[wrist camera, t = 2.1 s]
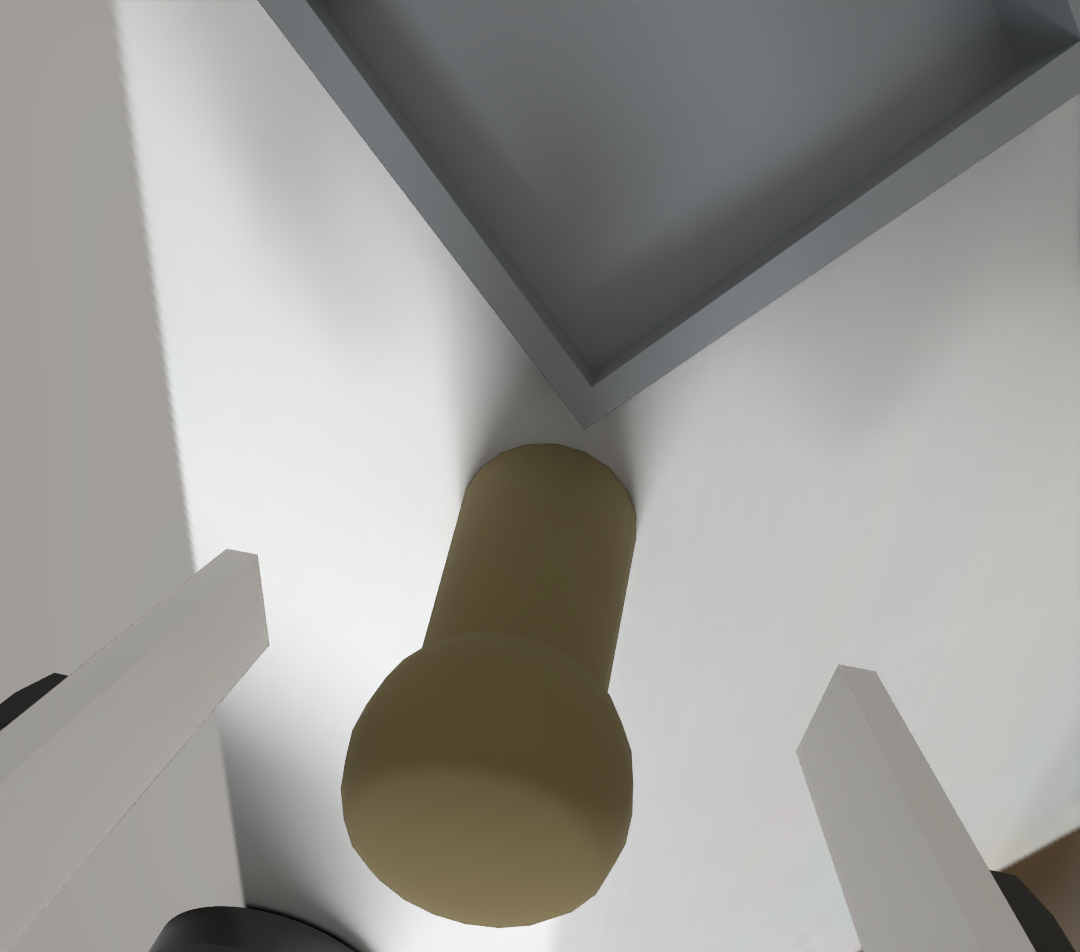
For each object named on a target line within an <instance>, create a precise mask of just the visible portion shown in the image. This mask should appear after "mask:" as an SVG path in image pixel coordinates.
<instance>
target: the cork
mask: <svg viewBox="0 0 1080 952" xmlns="http://www.w3.org/2000/svg"><path fill="white" fill-rule="evenodd" d="M635 541H636V513H635V511H634V508H633V505H632V502H631V499H630V496H629V493H628V491H627V489H626V488H625V487H624V486H623V484H622V483H621V482H620V481H619V479H618V478H617V477H616V476H615V474H614V473H613V472H612V471H611V469H610V468H608V467H607V466H605V465H604V464H602V463H601V462H599V461H598V460H596V459H595V458H593V457H591V456H590V455H588V454H587V453H585V452H582V451H578V450H575V449H571V448H568V447H565V446H561V445H558V444H528V445H525V446H521V447H518V448H515V449H512V450H509V451H506V452H503V453H500V454H499V455H498V456H496V457H495V458H494V459H492V460H491V461H490V462H488V463H487V464H486V465H484V466H483V467H481V468H480V469H479V471H478V472H477V474H476V475H475V477H474V478H473V480H472V481H471V483H470V484H469V486H468V487H467V489H466V491H465V494H464V498H463V502H462V505H461V509H460V512H459V516H458V520H457V523H456V527H455V531H454V534H453V538H452V542H451V545H450V549H449V552H448V556H447V560H446V563H445V567H444V571H443V574H442V578H441V582H440V585H439V589H438V592H437V596H436V600H435V603H434V607H433V611H432V614H431V618H430V622H429V625H428V629H427V632H426V636H425V640H424V643H423V647H422V649H420V650H418V651H417V652H415V653H413V654H412V655H410V656H409V657H407V658H405V659H404V660H403V661H402V662H401V663H400V664H399V665H398V666H397V667H396V668H395V669H394V670H393V671H392V672H391V673H390V674H389V675H388V676H387V677H386V678H385V680H384V681H383V682H382V684H381V685H380V687H379V688H378V689H377V691H376V692H375V694H374V695H373V696H372V698H371V699H370V700H369V702H368V703H367V705H366V707H365V708H364V710H363V712H362V714H361V716H360V717H359V719H358V721H357V723H356V725H355V727H354V728H353V730H352V734H351V739H350V743H349V747H348V751H347V756H346V760H345V766H344V772H343V779H342V785H341V795H342V805H343V815H344V821H345V824H346V828H347V831H348V834H349V837H350V841H351V844H352V846H353V848H354V849H355V850H356V852H357V853H358V854H359V856H360V857H361V858H362V860H363V861H364V862H365V864H366V865H367V866H368V868H369V869H370V870H371V871H372V872H373V873H374V875H375V876H376V877H377V878H378V879H379V880H380V881H381V882H383V883H384V884H385V885H386V886H388V887H389V888H390V889H391V890H393V891H394V892H395V893H397V894H398V895H399V896H400V897H402V898H403V899H404V900H406V901H408V902H410V903H412V904H414V905H416V906H418V907H420V908H422V909H424V910H426V911H428V912H430V913H432V914H434V915H437V916H441V917H444V918H447V919H451V920H454V921H457V922H461V923H464V924H470V925H479V926H487V927H496V928H503V927H516V926H530V925H533V924H536V923H539V922H542V921H545V920H548V919H552V918H555V917H558V916H561V915H564V914H567V913H570V912H572V911H574V910H575V909H576V908H578V907H579V906H581V905H582V904H583V903H585V902H586V901H587V900H589V899H590V898H592V897H593V896H594V895H596V893H597V892H598V890H599V888H600V887H601V885H602V884H603V882H604V880H605V879H606V877H607V876H608V874H609V872H610V871H611V869H612V867H613V866H614V864H615V862H616V860H617V858H618V857H619V855H620V853H621V851H622V849H623V848H624V846H625V844H626V839H627V835H628V830H629V826H630V821H631V817H632V802H633V773H632V755H631V749H630V746H629V743H628V740H627V737H626V734H625V731H624V728H623V725H622V722H621V720H620V718H619V715H618V713H617V711H616V708H615V706H614V704H613V701H612V699H611V697H610V695H609V694H608V693H607V692H608V687H609V681H610V676H611V671H612V665H613V660H614V654H615V649H616V644H617V638H618V633H619V627H620V622H621V617H622V611H623V606H624V600H625V595H626V589H627V584H628V579H629V573H630V568H631V562H632V557H633V552H634V546H635Z"/></svg>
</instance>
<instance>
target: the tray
mask: <svg viewBox="0 0 1080 952" xmlns="http://www.w3.org/2000/svg"><path fill="white" fill-rule="evenodd" d="M258 1H259V3H260V4H261V5H262V7H263V8H264V9H265V11H266V12H267V13H268V15H269V16H270V17H271V19H272V20H273V21H274V22H275V24H276V25H277V26H278V28H279V29H280V30H281V32H282V33H283V34H284V36H285V37H286V38H287V40H288V41H289V42H290V43H291V45H292V46H293V47H294V49H295V50H296V51H297V53H298V54H299V55H300V57H301V58H302V59H303V60H304V62H305V63H306V64H307V66H308V67H309V68H310V70H311V71H312V72H313V74H314V75H315V76H316V78H317V79H318V80H319V81H320V83H321V84H322V85H323V87H324V88H325V89H326V91H327V92H328V93H329V95H330V96H331V97H332V99H333V100H334V101H335V102H336V104H337V105H338V106H339V108H340V109H341V110H342V112H343V113H344V114H345V116H346V117H347V118H348V120H349V121H350V122H351V123H352V125H353V126H354V127H355V129H356V130H357V131H358V133H359V134H360V135H361V137H362V138H363V139H364V141H365V142H366V143H367V144H368V146H369V147H370V148H371V150H372V151H373V152H374V154H375V155H376V156H377V158H378V159H379V160H380V162H381V163H382V164H383V165H384V167H385V168H386V169H387V171H388V172H389V173H390V175H391V176H392V177H393V179H394V180H395V181H396V183H397V184H398V185H399V186H400V188H401V189H402V190H403V192H404V193H405V194H406V196H407V197H408V198H409V200H410V201H411V202H412V204H413V205H414V206H415V207H416V209H417V210H418V211H419V213H420V214H421V215H422V217H423V218H424V219H425V221H426V222H427V223H428V225H429V226H430V227H431V228H432V230H433V231H434V232H435V234H436V235H437V236H438V238H439V239H440V240H441V242H442V243H443V244H444V245H445V247H446V248H447V249H448V251H449V252H450V253H451V255H452V256H453V257H454V259H455V260H456V261H457V263H458V264H459V265H460V266H461V268H462V269H463V270H464V272H465V273H466V274H467V276H468V277H469V278H470V280H471V281H472V282H473V284H474V285H475V286H476V287H477V289H478V290H479V291H480V293H481V294H482V295H483V297H484V298H485V299H486V301H487V302H488V303H489V305H490V306H491V307H492V308H493V310H494V311H495V312H496V314H497V315H498V316H499V318H500V319H501V320H502V322H503V323H504V324H505V326H506V327H507V328H508V329H509V331H510V332H511V333H512V335H513V336H514V337H515V339H516V340H517V341H518V343H519V344H520V345H521V347H522V348H523V349H524V350H525V352H526V353H527V354H528V356H529V357H530V358H531V360H532V361H533V362H534V364H535V365H536V366H537V368H538V369H539V370H540V371H541V373H542V374H543V375H544V377H545V378H546V379H547V381H548V382H549V383H550V385H551V386H552V387H553V389H554V390H555V391H556V392H557V394H558V395H559V396H560V398H561V399H562V400H563V402H564V403H565V404H566V406H567V407H568V408H569V410H570V411H571V412H572V413H573V415H574V416H575V417H576V419H577V420H578V421H579V423H580V424H581V425H582V427H583V428H584V429H586V428H587V427H589V426H590V425H592V424H593V423H595V422H596V421H598V420H599V419H601V418H602V417H604V416H605V415H607V414H608V413H610V412H611V411H612V410H614V409H615V408H617V407H618V406H620V405H621V404H623V403H624V402H626V401H627V400H629V399H630V398H632V397H633V396H635V395H636V394H637V393H639V392H640V391H642V390H643V389H645V388H646V387H648V386H649V385H651V384H652V383H654V382H655V381H657V380H658V379H659V378H661V377H662V376H664V375H665V374H667V373H668V372H670V371H671V370H673V369H674V368H676V367H677V366H679V365H680V364H682V363H683V362H684V361H686V360H687V359H689V358H690V357H692V356H693V355H695V354H696V353H698V352H699V351H701V350H702V349H704V348H705V347H707V346H708V345H709V344H711V343H712V342H714V341H715V340H717V339H718V338H720V337H721V336H723V335H724V334H726V333H727V332H729V331H730V330H731V329H733V328H734V327H736V326H737V325H739V324H740V323H742V322H743V321H745V320H746V319H748V318H749V317H751V316H752V315H754V314H755V313H756V312H758V311H759V310H761V309H762V308H764V307H765V306H767V305H768V304H770V303H771V302H773V301H774V300H776V299H777V298H779V297H780V296H781V295H783V294H784V293H786V292H787V291H789V290H790V289H792V288H793V287H795V286H796V285H798V284H799V283H801V282H802V281H803V280H805V279H806V278H808V277H809V276H811V275H812V274H814V273H815V272H817V271H818V270H820V269H821V268H823V267H824V266H826V265H827V264H828V263H830V262H831V261H833V260H834V259H836V258H837V257H839V256H840V255H842V254H843V253H845V252H846V251H848V250H849V249H851V248H852V247H853V246H855V245H856V244H858V243H859V242H861V241H862V240H864V239H865V238H867V237H868V236H870V235H871V234H873V233H874V232H875V231H877V230H878V229H880V228H881V227H883V226H884V225H886V224H887V223H889V222H890V221H892V220H893V219H895V218H896V217H898V216H899V215H900V214H902V213H903V212H905V211H906V210H908V209H909V208H911V207H912V206H914V205H915V204H917V203H918V202H920V201H921V200H923V199H924V198H925V197H927V196H928V195H930V194H931V193H933V192H934V191H936V190H937V189H939V188H940V187H942V186H943V185H945V184H946V183H947V182H949V181H950V180H952V179H953V178H955V177H956V176H958V175H959V174H961V173H962V172H964V171H965V170H967V169H968V168H970V167H971V166H972V165H974V164H975V163H977V162H978V161H980V160H981V159H983V158H984V157H986V156H987V155H989V154H990V153H992V152H993V151H995V150H996V149H997V148H999V147H1000V146H1002V145H1003V144H1005V143H1006V142H1008V141H1009V140H1011V139H1012V138H1014V137H1015V136H1017V135H1018V134H1020V133H1021V132H1022V131H1024V130H1025V129H1027V128H1028V127H1030V126H1031V125H1033V124H1034V123H1036V122H1037V121H1039V120H1040V119H1042V118H1043V117H1044V116H1046V115H1047V114H1049V113H1050V112H1052V111H1053V110H1055V109H1056V108H1058V107H1059V106H1061V105H1062V104H1064V103H1065V102H1067V101H1068V100H1069V99H1071V98H1072V97H1074V96H1075V95H1077V94H1078V93H1080V0H258Z"/></svg>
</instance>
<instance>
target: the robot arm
mask: <svg viewBox="0 0 1080 952" xmlns="http://www.w3.org/2000/svg"><path fill="white" fill-rule="evenodd" d="M268 646H269V639H268V631H267V624H266V616H265V608H264V601H263V593H262V585H261V578H260V570H259V562H258V555H256V554H251V553H246V552H240V551H235V550H230V549H226V550H224V551H223V552H222V553H221V554H220V555H218V556H217V557H216V558H215V559H213V560H212V561H211V562H210V563H208V564H207V565H206V566H205V567H203V568H202V569H201V570H200V571H198V572H197V573H196V574H195V575H193V576H192V577H191V578H190V579H189V580H187V581H186V582H185V583H184V584H182V585H181V586H180V587H179V588H177V589H176V590H175V591H174V592H172V593H171V594H170V595H169V596H167V597H166V598H165V599H164V600H163V601H161V602H160V603H159V604H158V605H156V606H155V607H154V608H153V609H151V610H150V611H149V612H148V613H147V614H145V615H144V616H143V617H141V619H139V620H138V621H137V622H135V623H134V624H133V625H132V626H130V627H129V628H128V629H126V631H124V632H123V633H122V634H120V635H119V636H118V637H117V638H115V639H114V640H113V641H112V642H110V643H109V644H108V645H107V646H105V647H104V648H103V649H102V650H101V651H99V652H98V653H97V654H95V655H94V656H93V657H92V658H91V659H89V660H88V661H87V662H86V663H84V664H83V665H82V666H81V667H79V668H78V669H77V670H76V671H74V672H73V673H72V674H71V675H69V676H66V675H61V674H57V673H53V674H51V675H49V676H47V677H45V678H43V679H41V680H40V681H38V682H35V683H33V684H31V685H29V686H28V687H25V688H23V689H21V690H20V691H17V692H16V693H14V694H13V695H12V696H10V697H9V698H8V699H6V700H5V701H4V702H2V703H1V704H0V952H9V951H10V950H11V948H12V947H13V946H14V945H15V944H16V942H17V941H18V940H19V939H20V938H21V937H22V935H23V934H24V933H25V932H26V931H27V929H28V928H29V927H30V926H31V925H32V924H33V922H34V921H35V920H36V919H37V918H38V916H39V915H40V914H41V913H42V912H43V911H44V909H45V908H46V907H47V905H49V904H50V902H51V901H52V900H53V899H54V898H55V896H56V895H57V894H58V893H59V892H60V891H61V889H62V888H63V887H64V886H65V885H66V884H67V882H68V881H69V880H70V879H71V878H72V877H73V875H74V874H75V873H76V872H77V871H78V869H79V868H80V867H81V866H82V865H83V864H84V862H85V861H86V860H87V859H88V858H89V856H90V855H91V854H92V853H93V852H94V851H95V849H96V848H97V847H98V846H99V845H100V844H101V842H102V841H103V840H104V839H105V838H106V837H107V835H108V834H109V833H110V832H111V831H112V829H113V828H114V827H115V826H116V825H117V824H118V822H119V821H120V820H121V819H122V818H123V817H124V815H125V814H126V813H127V812H128V811H129V810H130V808H131V807H132V806H133V805H134V804H135V802H136V801H137V800H138V799H139V798H140V797H141V795H142V794H143V793H144V792H145V791H146V789H147V788H148V787H149V786H150V785H151V784H152V782H153V781H154V780H155V779H156V778H157V777H158V775H159V774H160V773H161V772H162V771H163V769H164V768H165V767H166V766H167V765H168V764H169V762H170V761H171V760H172V759H173V758H174V757H175V755H176V754H177V753H178V752H179V751H180V750H181V748H182V747H183V746H184V745H185V743H186V742H187V741H188V740H189V739H190V738H191V737H192V735H193V734H194V733H195V732H196V731H197V730H198V728H199V727H200V726H201V725H202V723H203V722H204V721H205V720H206V719H207V718H208V717H209V715H210V714H211V713H212V712H213V711H214V710H215V708H216V707H217V706H218V705H219V704H220V702H221V701H222V700H223V699H224V698H225V697H226V695H227V694H228V693H229V692H230V691H231V690H232V688H233V687H234V686H235V685H236V684H237V682H238V681H239V680H240V679H241V678H242V677H243V675H244V674H245V673H246V672H247V671H248V670H249V668H250V667H251V666H252V665H253V664H254V662H255V661H256V660H257V659H258V658H259V657H260V655H261V654H262V653H263V652H264V651H265V650H266V648H267V647H268ZM796 752H797V755H798V758H799V761H800V764H801V767H802V770H803V773H804V776H805V779H806V782H807V785H808V788H809V791H810V794H811V797H812V800H813V803H814V806H815V809H816V812H817V815H818V818H819V821H820V824H821V827H822V830H823V833H824V836H825V839H826V842H827V845H828V848H829V851H830V854H831V857H832V860H833V863H834V866H835V869H836V872H837V875H838V878H839V881H840V884H841V887H842V890H843V893H844V896H845V899H846V902H847V905H848V908H849V911H850V914H851V917H852V920H853V923H854V926H855V929H856V932H857V935H858V938H859V941H860V944H861V947H862V950H863V952H1076V951H1075V950H1074V948H1073V947H1072V945H1071V943H1070V942H1069V940H1068V939H1067V937H1066V936H1065V934H1064V932H1063V931H1062V929H1061V928H1060V926H1059V924H1058V923H1057V921H1056V920H1055V918H1054V916H1053V915H1052V914H1051V913H1050V912H1049V911H1048V910H1047V909H1046V908H1045V906H1044V905H1043V904H1042V903H1041V902H1040V901H1039V900H1038V899H1037V898H1036V897H1035V896H1034V895H1033V893H1032V892H1031V891H1030V890H1029V889H1028V888H1027V887H1026V886H1025V885H1024V884H1023V883H1022V881H1021V880H1020V879H1019V878H1018V877H1017V876H1016V875H1011V874H1006V873H1002V872H997V871H992V870H989V869H988V867H987V865H986V864H985V862H984V860H983V858H982V857H981V855H980V853H979V851H978V850H977V848H976V846H975V844H974V843H973V841H972V839H971V837H970V836H969V834H968V832H967V830H966V829H965V827H964V825H963V823H962V822H961V820H960V818H959V816H958V815H957V813H956V811H955V809H954V808H953V806H952V804H951V803H950V801H949V799H948V797H947V796H946V794H945V792H944V790H943V789H942V787H941V785H940V783H939V782H938V780H937V778H936V776H935V775H934V773H933V771H932V769H931V768H930V766H929V764H928V762H927V761H926V759H925V757H924V755H923V754H922V752H921V750H920V748H919V747H918V745H917V743H916V741H915V740H914V738H913V736H912V734H911V733H910V731H909V729H908V727H907V726H906V724H905V722H904V721H903V719H902V717H901V715H900V714H899V712H898V710H897V708H896V707H895V705H894V703H893V701H892V700H891V698H890V696H889V694H888V693H887V691H886V689H885V687H884V686H883V684H882V682H881V680H880V679H879V677H878V675H877V673H876V672H875V671H870V670H865V669H860V668H855V667H849V666H844V665H839V664H838V666H837V668H836V670H835V672H834V675H833V677H832V679H831V681H830V683H829V685H828V687H827V689H826V691H825V693H824V695H823V697H822V699H821V701H820V703H819V705H818V708H817V710H816V712H815V714H814V716H813V718H812V720H811V722H810V724H809V726H808V728H807V730H806V732H805V734H804V736H803V738H802V741H801V743H800V745H799V747H798V749H797V751H796ZM149 952H354V951H353V950H351V949H350V948H348V947H347V946H345V945H344V944H342V943H341V942H339V941H337V940H336V939H334V938H332V937H330V936H328V935H327V934H325V933H323V932H321V931H319V930H317V929H314V928H312V927H310V926H308V925H305V924H303V923H300V922H298V921H295V920H292V919H289V918H286V917H283V916H280V915H276V914H272V913H268V912H264V911H259V910H254V909H248V908H240V907H227V906H214V907H203V908H198V909H193V910H189V911H186V912H184V913H181V914H179V915H177V916H176V917H174V918H173V919H171V920H170V921H169V922H168V923H167V924H166V926H165V927H164V929H163V930H162V932H161V933H160V935H159V936H158V938H157V939H156V941H155V943H154V944H153V946H152V947H151V949H150V950H149Z"/></svg>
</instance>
